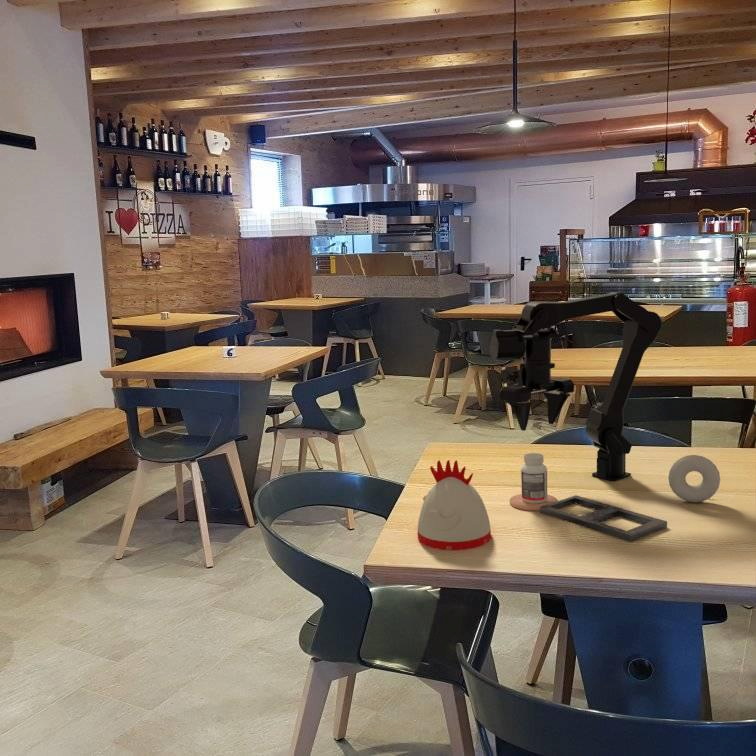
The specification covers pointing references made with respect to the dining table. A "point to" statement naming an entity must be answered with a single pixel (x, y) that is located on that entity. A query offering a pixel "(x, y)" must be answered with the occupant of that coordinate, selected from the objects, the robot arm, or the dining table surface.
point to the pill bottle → (534, 479)
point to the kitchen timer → (453, 512)
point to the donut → (699, 465)
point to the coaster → (520, 504)
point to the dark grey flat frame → (604, 518)
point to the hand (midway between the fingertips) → (537, 427)
